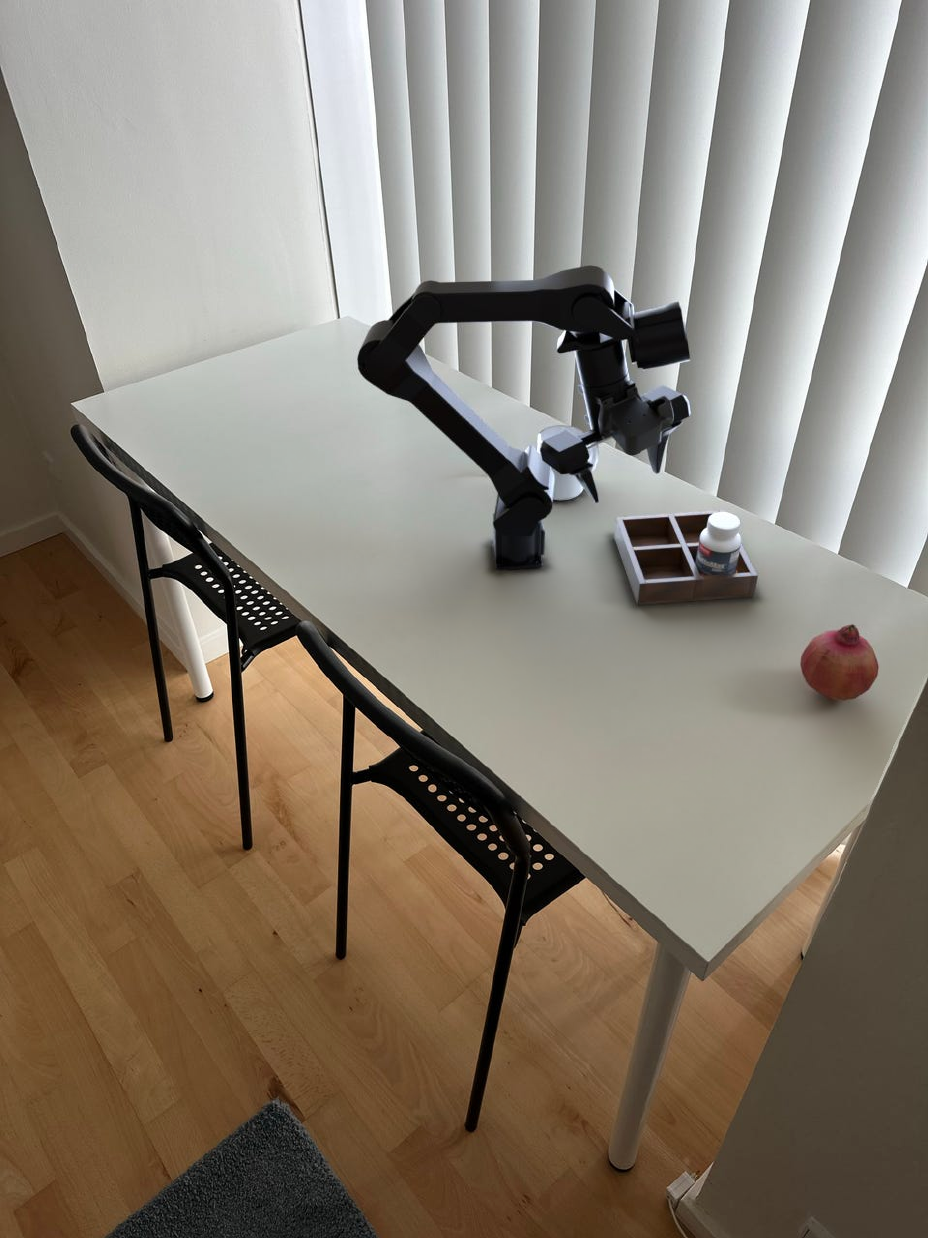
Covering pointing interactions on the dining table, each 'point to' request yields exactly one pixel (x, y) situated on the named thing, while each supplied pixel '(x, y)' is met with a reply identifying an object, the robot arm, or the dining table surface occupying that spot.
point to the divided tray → (675, 560)
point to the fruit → (839, 664)
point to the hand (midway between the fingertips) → (626, 486)
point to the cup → (566, 483)
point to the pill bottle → (719, 545)
